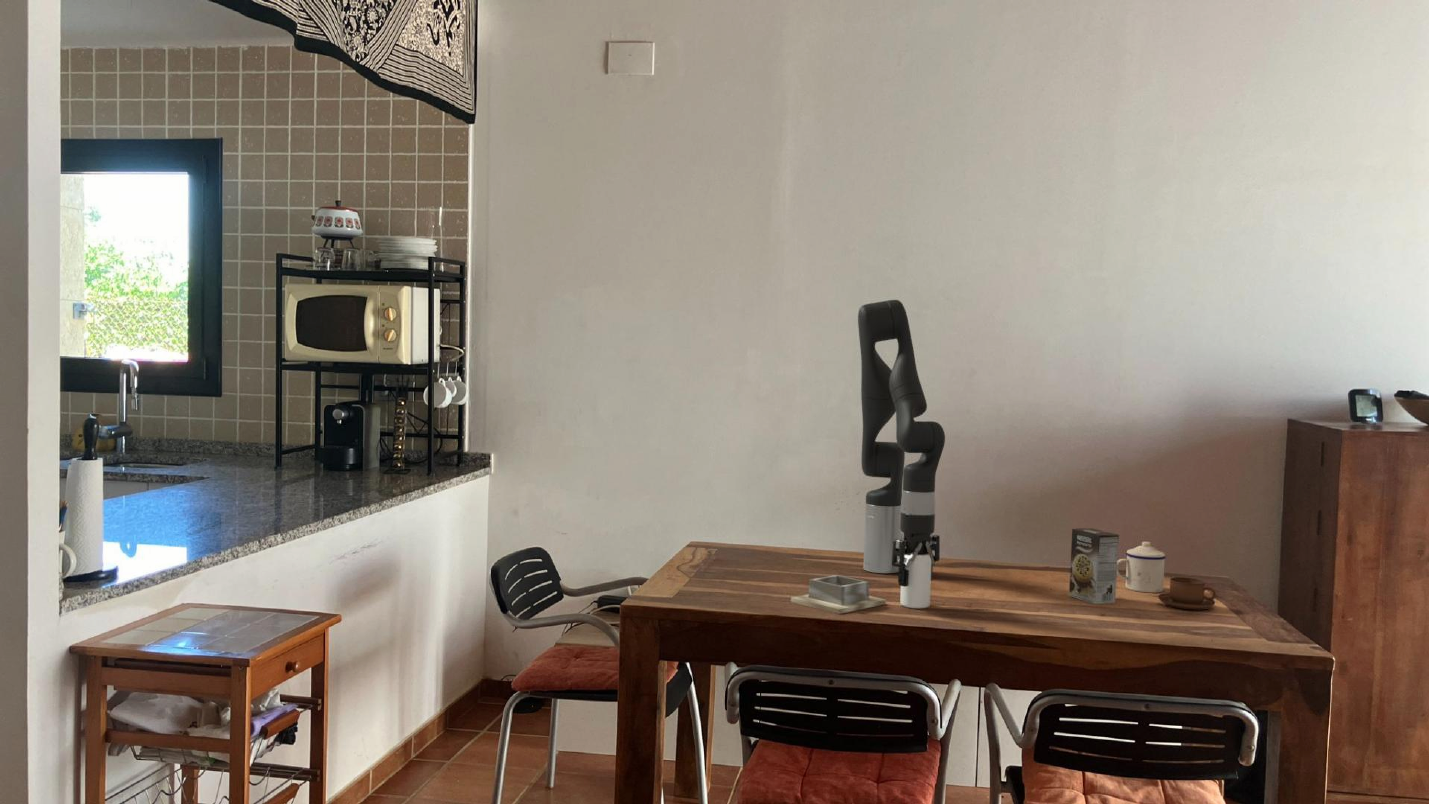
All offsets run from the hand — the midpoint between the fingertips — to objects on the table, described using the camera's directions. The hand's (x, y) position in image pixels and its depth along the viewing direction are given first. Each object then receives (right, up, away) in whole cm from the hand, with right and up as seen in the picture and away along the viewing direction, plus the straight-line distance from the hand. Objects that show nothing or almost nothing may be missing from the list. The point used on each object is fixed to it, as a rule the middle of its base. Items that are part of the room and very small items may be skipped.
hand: (915, 583), depth 248 cm
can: (0, -5, 0) cm, 5 cm away
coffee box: (+43, -6, +12) cm, 46 cm away
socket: (-17, -5, +1) cm, 18 cm away
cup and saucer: (+64, -7, +8) cm, 65 cm away
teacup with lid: (+59, -6, +26) cm, 65 cm away
